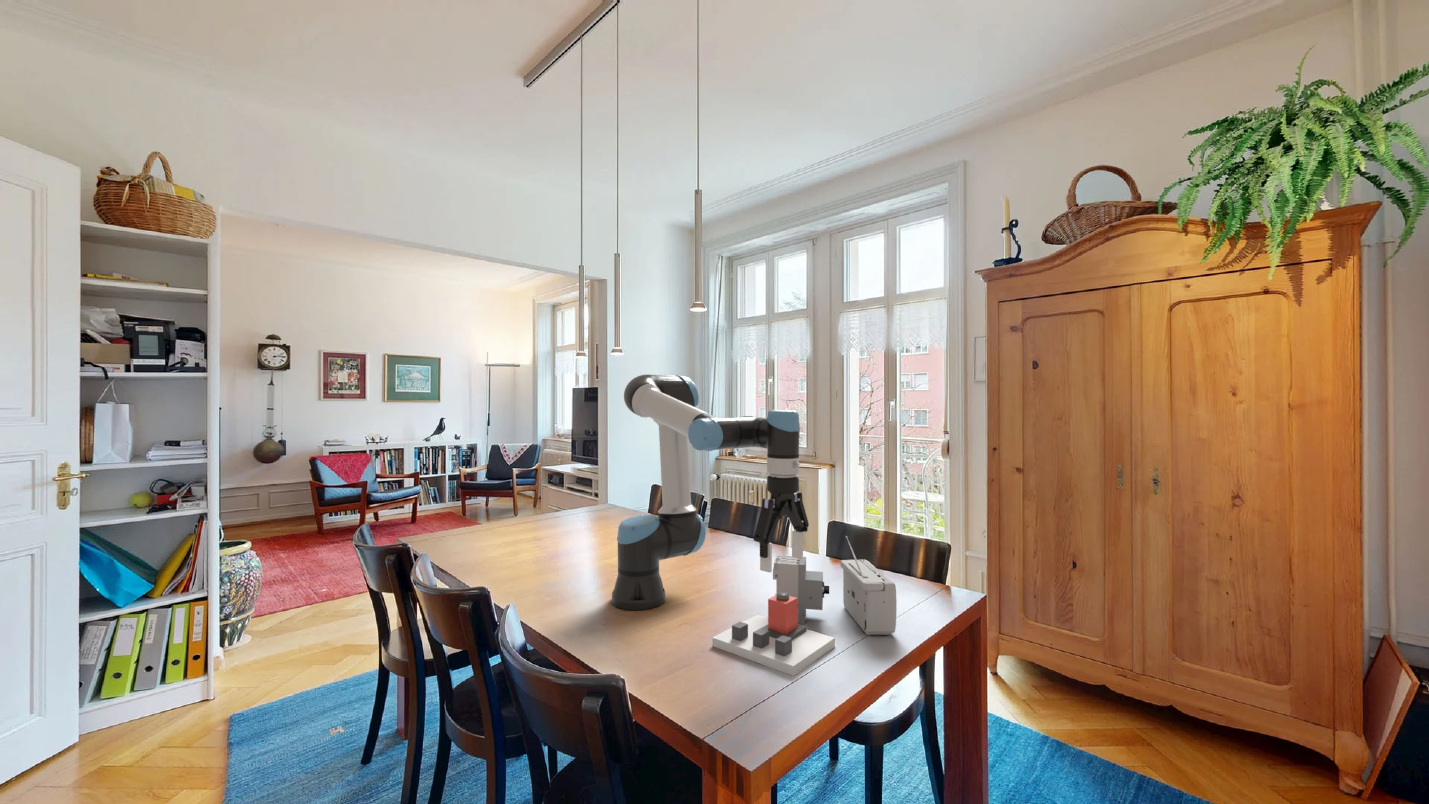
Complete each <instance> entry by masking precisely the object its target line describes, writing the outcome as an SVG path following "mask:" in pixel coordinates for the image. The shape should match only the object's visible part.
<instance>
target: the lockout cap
mask: <svg viewBox="0 0 1429 804" xmlns="http://www.w3.org/2000/svg"><path fill="white" fill-rule="evenodd" d="M775 594H776V593H775ZM767 618H768V629H772V630H775V631H778V632H781V633H784V634H787V633H789V632H790V631H792V630H794V629H795V628H797V624H798V623H797V598H796V597H792V596H789V594H788V593H786V592H779V593H777V594H776V595H773V596H771V597H770V598H767Z"/></svg>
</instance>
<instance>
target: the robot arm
mask: <svg viewBox="0 0 1429 804" xmlns="http://www.w3.org/2000/svg"><path fill="white" fill-rule="evenodd" d="M699 397H700V395H699V390H698V388H697V385H696V384H695V382H694V381H693V380H692V379H691V378H690V377H689V376H685V375H679V374H640V375H638V376H636V377H633V379H631V380H630V381H629V382H628V383H627V385H626V386H625V389H624V393H623V401H624V403H625V405H626V407H627V408H628V410H629V411H630V412H632V414H635V415H637V416H639V417H641V418H650V419H652V420H653V422H655V424H657V426H658V437H659V439H658V440H659V459H660V461H659V462H660V479H661V482H660V483H661V495H662V497H661V499H662V505H661V507H660V508H658V509H659V510H658V511H657V515H653V514H644V515H642V514H641V515H634V516H632V517H631V516H630V517H628V518H626V519H624V520H622V522H620V523H619V525H618V527H617V529H618V530H617V538H616V540H617V577H616V579H615V580H616V581H615V584H614V588H613V591H612V593H611V604H612V605H613V606H614V607H616V608H618V609H621V610H628V611H643V610H649V609H653V608H657V607H659V606H661V605H663V604H664V603H665V602H666V590H665V588H664V583H663V581H662V577H661V574H660V561H662V560H667V559H671V558H678V557H681V556H683V557H684V556H688V555H690V554H694V553H696V552H698V551H699V550H700V549H701V547H703V545H704V543H705V541H706V535H707V528H706V524H705V523H706V522H705V521H704V518H703V517H702V516H701V515H700V514H699V513H698V510H697V507H695V506H694V504H692V498H691V497H692V493H691V475H690V458H689V457H690V453H689V444H691V445H692V446H691V447H692V448H693V449H695V450H697V451H706V452H712V451H718V450H729V449H743V448H744V449H746V448H762V449H763V448H764V449H766V450H767V451H766V454H767V455H766V456H767V457H766V458H767V459H766V460H767V461H766V474H768V475H767V477H766V490H767V491H768V492H769V493H770V498H762V500H761V509H760V513H759V516H758V520H757V524H756V527H755V531H754V534H753V541H754V542H757V543H759V570H760V571H761V572H765V573H773V567H772V566H773V564H772V561H773V543H772V542H770V541H771V539H772V538H773V535H774V532H775V530H776V527H777V525H778V523H779V520H781V519H782V518H783V516H785V515H786V516H787V518H788V520H789V521H790V524H791V525H792V528H793V530H791V556H792V557H794V558H798V559H803V557H804V532H805V533H806V532H808V530H809V529H808V528H809V520H808V516H807V513H806V510H805V505H804V502H803V493H802V492H801V491H799V490H800V477H799V473H800V467H799V466H800V432H801V427H800V416H799V415H800V414H799V413H798V412H797V410H792V409H791V410H789V409H772V410H771V409H770V410H769V411H768V412H767V416H766V417H761V416H752V415H744V416H739V417H718V416H715V415H712V414H710V413H708V412H706V411H704V410H701V409H699V408H698V406H699V402H700V401H699V399H700V398H699Z"/></svg>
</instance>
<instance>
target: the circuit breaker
mask: <svg viewBox="0 0 1429 804" xmlns="http://www.w3.org/2000/svg"><path fill="white" fill-rule="evenodd" d="M823 574H824V573H823V571H817V570H807V557H806V556H803V559H798V558H794V557H792V555H778V554H776V556H775V559H774V563H773V567H772V580H774V581H775V580H776V583H775V585H776V593H775V595H776V594H777V593H779V592H786V593H788V594H789V596H792V597H796V598H797V624H805V622H806V616H807V610H814V611H816V610H817V611H823V606H824V605H823V604H824V598H825V595H830V585H825V581H823V580H824V575H823ZM775 595H774V596H775Z"/></svg>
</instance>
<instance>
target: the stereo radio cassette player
mask: <svg viewBox="0 0 1429 804" xmlns="http://www.w3.org/2000/svg"><path fill="white" fill-rule="evenodd" d="M845 539H847V543H848V546H849V548H850V551H851V554H852V557H853V558H854V559H842V560H840V568H841V569H842V571H843V573H842V574H843V575H842V576H843V579H842V580H843V581H842V582H843V587H842V588H843V589H842V591H843V592H842V595H843V597H842V598H843V599H842V600H843V607H844V608H845V610H846V611H847V612H848V613H849V615H850V616H851V617H852V618H853V620H854V621H855V622H856V624H858V626H859V627H860V628H861V630H862V631H863V632H864V633H865V634H866V635H867V636H871V635H874V636H880V635H881V636H882V635H887V636H889V635H890V636H891V635H892V634H893V633H894V634H895V633H896V626H897V587H896V584H895V582H894V581H893V580H891V579H890V578H889V577H887V575H885V574H884V573H883V572H881V571H880V569H878V568H877V567H876V566H875V565H874V564H872V563H871V562H870V561H869V560H866V559H857V557H856V555H855V552H854V549H853V548H852V546H851V543H850V541H849V539H848V536H847V535H845Z"/></svg>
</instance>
